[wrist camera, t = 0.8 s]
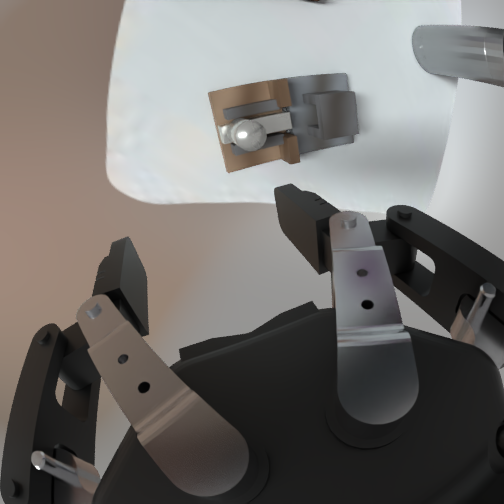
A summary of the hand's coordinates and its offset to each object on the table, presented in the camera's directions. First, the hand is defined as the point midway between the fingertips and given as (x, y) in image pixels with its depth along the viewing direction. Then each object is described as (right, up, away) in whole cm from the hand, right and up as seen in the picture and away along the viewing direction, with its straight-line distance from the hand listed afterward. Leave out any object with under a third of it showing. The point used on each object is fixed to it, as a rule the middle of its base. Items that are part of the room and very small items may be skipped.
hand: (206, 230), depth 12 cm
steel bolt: (+2, +14, +19) cm, 23 cm away
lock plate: (+6, +16, +21) cm, 27 cm away
